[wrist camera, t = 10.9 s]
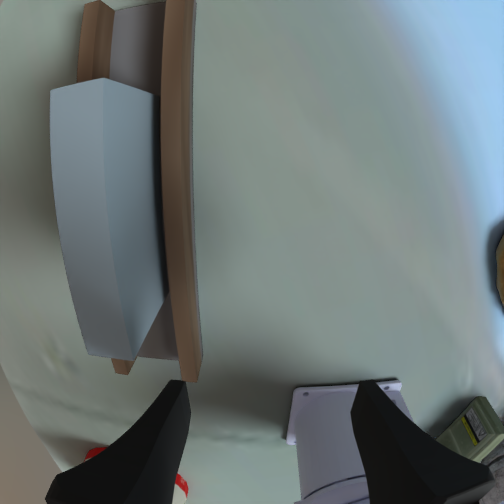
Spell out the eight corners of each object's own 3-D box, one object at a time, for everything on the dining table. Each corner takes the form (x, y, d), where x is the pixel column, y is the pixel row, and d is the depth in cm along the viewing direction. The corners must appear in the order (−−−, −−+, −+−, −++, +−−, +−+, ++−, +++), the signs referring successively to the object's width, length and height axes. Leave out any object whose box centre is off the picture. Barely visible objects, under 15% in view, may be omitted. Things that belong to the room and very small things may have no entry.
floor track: (196, 3, 14) (186, -18, 11) (202, 355, 23) (196, 382, 20) (106, 18, 14) (84, 4, 11) (128, 348, 23) (115, 373, 20)
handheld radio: (488, 396, 26) (367, 502, 34) (474, 393, 25) (351, 502, 34) (511, 434, 19) (373, 536, 28) (498, 434, 19) (356, 537, 27)
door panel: (159, 96, 16) (103, 77, 9) (168, 291, 20) (133, 360, 13) (119, 101, 16) (50, 90, 9) (133, 290, 20) (88, 354, 13)
